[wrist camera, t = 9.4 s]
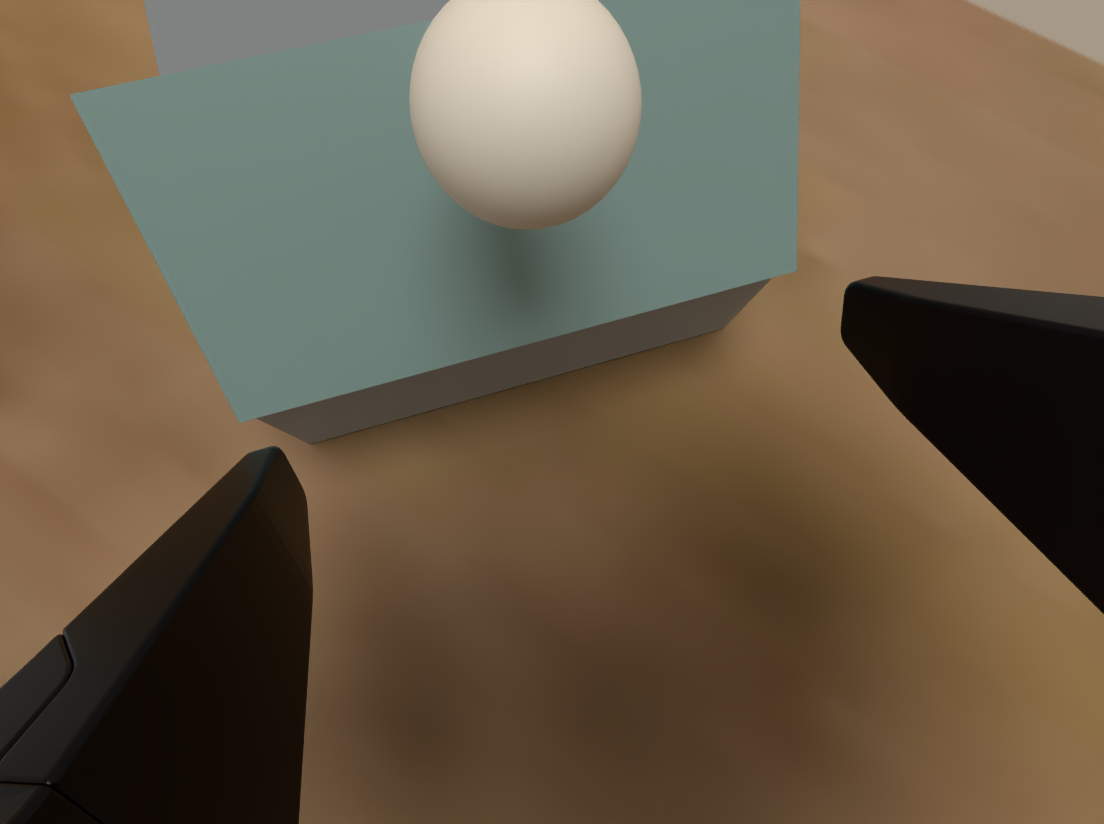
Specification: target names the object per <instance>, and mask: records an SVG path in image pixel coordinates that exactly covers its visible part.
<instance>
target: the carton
mask: <svg viewBox="0 0 1104 824" xmlns="http://www.w3.org/2000/svg"><path fill="white" fill-rule="evenodd" d="M449 1H450V0H144V4H145V9H146V13H147V18H148V23H149V28H150V33H151V37H152V42H153V47H154V52H155V57H156V61H157V66H158V71H159V76H162V75H167V74H172V73H176V72H181V71H186V70H191V69H196V68H201V67H205V66H210V65H215V64H220V63H225V62H230V61H234V60H239V59H244V58H249V57H254V56H259V55H263V54H268V53H273V52H278V51H283V50H288V49H292V48H297V47H302V46H307V45H312V44H317V43H322V42H326V41H331V40H336V39H341V38H346V37H351V36H355V35H360V34H365V33H370V32H375V31H380V30H384V29H389V28H394V27H399V26H404V25H409V24H413V23H418V22H423V21H428V20H433V19H434V17H435V16H436V15H437V14H438V13H439V11H440V10H441V9H442V8H443V6H444V5H445V4H446V3H448V2H449ZM770 279H771V278H769V279H765V280H762V281H758V282H754V283H751V284H747V285H743V286H740V287H736V288H732V289H729V290H725V291H721V292H718V293H714V294H710V295H707V296H703V297H699V298H696V299H692V300H688V301H685V302H681V303H677V304H674V305H670V306H666V307H663V308H659V309H655V310H652V311H648V312H644V313H641V314H637V315H633V316H630V317H626V318H622V319H618V320H615V321H611V322H607V323H604V324H600V325H596V326H593V327H589V328H585V329H582V330H578V331H574V332H571V333H567V334H563V335H560V336H556V337H552V338H549V339H545V340H541V341H538V342H534V343H530V344H527V345H523V346H519V347H516V348H512V349H508V350H505V351H501V352H497V353H494V354H490V355H486V356H483V357H479V358H475V359H472V360H468V361H464V362H461V363H457V364H453V365H450V366H446V367H442V368H439V369H435V370H431V371H428V372H424V373H420V374H417V375H413V376H409V377H406V378H402V379H398V380H395V381H391V382H387V383H384V384H380V385H376V386H373V387H369V388H365V389H362V390H358V391H354V392H351V393H347V394H343V395H340V396H336V397H332V398H329V399H325V400H321V401H318V402H314V403H310V404H307V405H303V406H299V407H296V408H292V409H288V410H285V411H281V412H277V413H274V414H270V415H266V416H263V417H259V418H257V419H259V420H261V421H263V422H265V423H267V424H269V425H271V426H273V427H275V428H278V429H280V430H282V431H284V432H286V433H288V434H290V435H292V436H294V437H296V438H299V439H301V440H303V441H305V442H307V443H309V444H313V443H317V442H320V441H324V440H327V439H331V438H334V437H338V436H342V435H345V434H349V433H352V432H356V431H359V430H363V429H367V428H370V427H374V426H377V425H381V424H384V423H388V422H392V421H395V420H399V419H402V418H406V417H409V416H413V415H417V414H420V413H424V412H427V411H431V410H434V409H438V408H442V407H445V406H449V405H452V404H456V403H459V402H463V401H467V400H470V399H474V398H477V397H481V396H484V395H488V394H492V393H495V392H499V391H502V390H506V389H509V388H513V387H517V386H520V385H524V384H527V383H531V382H534V381H538V380H542V379H545V378H549V377H552V376H556V375H559V374H563V373H567V372H570V371H574V370H577V369H581V368H584V367H588V366H592V365H595V364H599V363H602V362H606V361H609V360H613V359H616V358H620V357H624V356H627V355H631V354H634V353H638V352H641V351H645V350H649V349H652V348H656V347H659V346H663V345H666V344H670V343H674V342H677V341H681V340H684V339H688V338H691V337H695V336H699V335H702V334H706V333H709V332H713V331H716V330H720V329H723V328H724V327H725V326H726V325H727V324H728V323H729V322H730V321H731V320H732V319H733V318H734V317H735V316H736V315H737V314H738V313H739V312H740V311H741V309H742V308H743V307H744V306H745V305H746V304H747V303H748V302H749V301H750V300H751V299H752V298H753V297H754V296H755V295H756V294H757V293H758V292H759V291H760V290H761V289H762V288H763V287H764V286H765V285H766V284H767V283H768V282H769V281H770Z"/></svg>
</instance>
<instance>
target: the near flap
mask: <svg viewBox="0 0 1104 824" xmlns="http://www.w3.org/2000/svg"><path fill="white" fill-rule="evenodd" d="M799 56H800V0H450V1H449V2H448V3H446V4H445V5H444V6H443V8H442V9H441V10H440V11H439V13H438V14H437V15H436V16H435V17H434V19H433V20H428V21H423V22H418V23H413V24H409V25H404V26H399V27H394V28H389V29H384V30H380V31H375V32H370V33H365V34H360V35H355V36H351V37H346V38H341V39H336V40H331V41H326V42H322V43H317V44H312V45H307V46H302V47H297V48H292V49H288V50H283V51H278V52H273V53H268V54H263V55H259V56H254V57H249V58H244V59H239V60H234V61H230V62H225V63H220V64H215V65H210V66H205V67H201V68H196V69H191V70H186V71H181V72H176V73H172V74H167V75H162V76H157V77H152V78H147V79H142V80H138V81H133V82H128V83H123V84H118V85H113V86H109V87H104V88H99V89H94V90H89V91H84V92H80V93H75V94H70V95H69V96H70V97H71V99H72V101H73V103H74V105H75V107H76V109H77V111H78V113H79V115H80V117H81V119H82V121H83V123H84V124H85V126H86V128H87V130H88V132H89V134H90V136H91V138H92V140H93V142H94V144H95V146H96V148H97V149H98V151H99V153H100V155H101V157H102V159H103V161H104V163H105V165H106V167H107V169H108V171H109V173H110V174H111V176H112V178H113V180H114V182H115V184H116V186H117V188H118V190H119V192H120V194H121V196H122V198H123V200H124V201H125V203H126V205H127V207H128V209H129V211H130V213H131V215H132V217H133V219H134V221H135V223H136V225H137V226H138V228H139V230H140V232H141V234H142V236H143V238H144V240H145V242H146V244H147V246H148V248H149V250H150V252H151V253H152V255H153V257H154V259H155V261H156V263H157V265H158V267H159V269H160V271H161V273H162V275H163V277H164V278H165V280H166V282H167V284H168V286H169V288H170V290H171V292H172V294H173V296H174V298H175V300H176V302H177V303H178V305H179V307H180V309H181V311H182V313H183V315H184V317H185V319H186V321H187V323H188V325H189V327H190V329H191V330H192V332H193V334H194V336H195V338H196V340H197V342H198V344H199V346H200V348H201V350H202V352H203V354H204V355H205V357H206V359H207V361H208V363H209V365H210V367H211V369H212V371H213V373H214V375H215V377H216V379H217V381H218V382H219V384H220V386H221V388H222V390H223V392H224V394H225V396H226V398H227V400H228V402H229V404H230V406H231V407H232V409H233V411H234V413H235V415H236V417H237V419H238V421H239V423H241V422H244V421H248V420H252V419H255V418H259V417H263V416H266V415H270V414H274V413H277V412H281V411H285V410H288V409H292V408H296V407H299V406H303V405H307V404H310V403H314V402H318V401H321V400H325V399H329V398H332V397H336V396H340V395H343V394H347V393H351V392H354V391H358V390H362V389H365V388H369V387H373V386H376V385H380V384H384V383H387V382H391V381H395V380H398V379H402V378H406V377H409V376H413V375H417V374H420V373H424V372H428V371H431V370H435V369H439V368H442V367H446V366H450V365H453V364H457V363H461V362H464V361H468V360H472V359H475V358H479V357H483V356H486V355H490V354H494V353H497V352H501V351H505V350H508V349H512V348H516V347H519V346H523V345H527V344H530V343H534V342H538V341H541V340H545V339H549V338H552V337H556V336H560V335H563V334H567V333H571V332H574V331H578V330H582V329H585V328H589V327H593V326H596V325H600V324H604V323H607V322H611V321H615V320H618V319H622V318H626V317H630V316H633V315H637V314H641V313H644V312H648V311H652V310H655V309H659V308H663V307H666V306H670V305H674V304H677V303H681V302H685V301H688V300H692V299H696V298H699V297H703V296H707V295H710V294H714V293H718V292H721V291H725V290H729V289H732V288H736V287H740V286H743V285H747V284H751V283H754V282H758V281H762V280H765V279H769V278H773V277H776V276H780V275H784V274H787V273H791V272H795V271H797V212H798V134H799Z"/></svg>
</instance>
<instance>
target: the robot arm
mask: <svg viewBox="0 0 1104 824" xmlns="http://www.w3.org/2000/svg"><path fill="white" fill-rule="evenodd" d="M841 336H842V340H843V342H844V344H845V345H846V347H847V348H848V349H849V350H850V352H851V353H852V354H853V355H854V357H855V358H856V359H857V360H858V361H859V363H860V364H861V365H862V366H863V368H864V369H865V370H866V371H867V373H868V374H869V375H870V376H871V378H872V379H873V380H874V381H875V382H876V384H877V385H878V386H879V387H880V389H881V390H882V391H883V392H884V394H885V395H886V396H887V397H888V399H889V400H890V401H891V402H892V403H893V404H894V406H895V407H896V408H897V409H898V410H899V411H900V412H901V413H902V414H903V415H904V416H905V417H906V418H907V419H908V420H909V421H910V422H911V423H912V424H913V425H914V426H915V427H916V428H917V429H918V430H919V431H920V432H921V433H922V434H923V435H924V436H925V437H926V438H927V439H928V440H929V441H930V442H931V443H932V444H933V445H934V446H935V447H936V448H937V449H938V450H939V451H940V452H941V453H942V454H943V455H944V456H945V457H946V458H947V459H948V460H949V461H950V462H951V463H952V464H953V465H954V466H955V467H956V468H957V469H958V470H959V471H960V472H961V473H962V474H963V475H964V476H965V477H966V478H967V479H968V480H969V481H970V482H971V483H972V484H973V485H974V486H975V487H976V488H977V489H978V490H979V491H980V492H981V493H982V494H983V495H984V496H985V497H986V498H987V499H988V500H989V501H990V502H991V503H992V504H993V505H994V506H995V507H996V508H997V509H998V510H999V511H1000V512H1001V513H1002V514H1003V515H1004V516H1005V517H1006V518H1007V519H1008V520H1009V521H1010V522H1011V523H1012V524H1013V525H1014V526H1015V527H1016V528H1017V529H1018V530H1019V531H1020V532H1021V533H1022V534H1023V535H1024V536H1025V537H1026V538H1027V539H1028V540H1030V541H1031V542H1032V543H1033V544H1034V545H1035V546H1036V547H1037V548H1038V549H1039V550H1040V551H1041V552H1042V553H1043V554H1044V555H1045V556H1046V557H1047V558H1048V559H1049V560H1050V561H1051V562H1052V563H1053V564H1054V565H1055V566H1056V567H1057V568H1058V569H1059V570H1060V571H1061V572H1062V573H1063V574H1064V575H1065V576H1066V577H1067V578H1068V579H1069V580H1070V581H1071V582H1072V583H1073V584H1074V585H1075V586H1076V587H1077V588H1078V589H1079V590H1080V591H1081V592H1082V593H1083V594H1084V595H1085V596H1086V597H1087V598H1088V599H1089V600H1090V601H1091V602H1092V603H1093V604H1094V605H1095V606H1096V607H1097V608H1098V609H1099V610H1100V611H1101V612H1102V613H1103V614H1104V297H1097V296H1086V295H1075V294H1064V293H1053V292H1043V291H1032V290H1021V289H1010V288H999V287H988V286H977V285H966V284H955V283H944V282H933V281H922V280H912V279H901V278H890V277H879V276H873V277H868V278H865V279H861V280H858V281H854V282H852V283H850V284H849V285H848V286H847V288H846V290H845V294H844V302H843V312H842V321H841ZM312 602H313V582H312V566H311V552H310V538H309V523H308V509H307V500H306V496H305V492H304V490H303V488H302V486H301V484H300V482H299V480H298V478H297V476H296V474H295V472H294V471H293V469H292V467H291V465H290V463H289V461H288V459H287V458H286V456H285V454H284V452H283V451H282V450H281V449H280V448H279V447H277V446H271V447H267V448H264V449H260V450H257V451H253V452H250V453H248V454H247V455H246V456H244V457H243V458H242V459H241V460H240V461H239V462H238V463H237V464H236V465H235V466H234V467H233V468H232V469H231V470H230V471H229V472H228V473H227V474H226V475H225V476H223V477H222V478H221V479H220V480H219V481H218V482H217V483H216V484H215V485H214V486H213V487H212V488H211V489H210V490H209V491H208V492H207V493H206V494H205V495H204V496H203V497H201V498H200V499H199V500H198V501H197V502H196V503H195V504H194V505H193V506H192V507H191V508H190V509H189V510H188V511H187V512H186V513H185V514H184V515H183V516H182V517H181V518H179V519H178V520H177V521H176V522H175V523H174V524H173V525H172V526H171V527H170V528H169V529H168V530H167V531H166V532H165V533H164V534H163V535H162V536H161V537H160V538H158V539H157V540H156V541H155V542H154V543H153V544H152V545H151V546H150V547H149V548H148V549H147V550H146V551H145V552H144V553H143V554H142V555H141V556H140V557H139V558H138V559H136V560H135V561H134V562H133V563H132V564H131V565H130V566H129V567H128V568H127V569H126V570H125V571H124V572H123V573H122V574H121V575H120V576H119V577H118V578H117V579H116V580H114V581H113V582H112V583H111V584H110V585H109V586H108V587H107V588H106V589H105V590H104V591H103V592H102V593H101V594H100V595H99V596H98V597H97V598H96V599H95V600H93V601H92V602H91V603H90V604H89V605H88V606H87V607H86V608H85V609H84V610H83V611H82V612H81V613H80V614H79V615H78V616H77V617H76V618H75V619H74V620H73V621H71V622H70V623H69V624H68V625H67V626H66V627H65V628H64V629H63V635H61V634H60V635H57V636H55V637H54V638H53V639H52V640H51V641H50V642H49V643H48V644H47V645H46V646H45V647H44V648H43V649H42V650H41V651H40V652H39V653H38V654H37V655H36V656H35V657H34V658H33V659H31V660H30V661H29V662H28V663H27V664H26V665H25V666H24V667H23V668H22V669H21V670H20V671H19V672H17V673H16V674H15V675H14V676H13V677H12V678H11V679H10V680H9V681H8V682H7V683H6V684H5V685H3V686H2V687H1V688H0V824H299V809H300V794H301V778H302V762H303V746H304V730H305V715H306V699H307V683H308V667H309V651H310V636H311V620H312Z"/></svg>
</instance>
